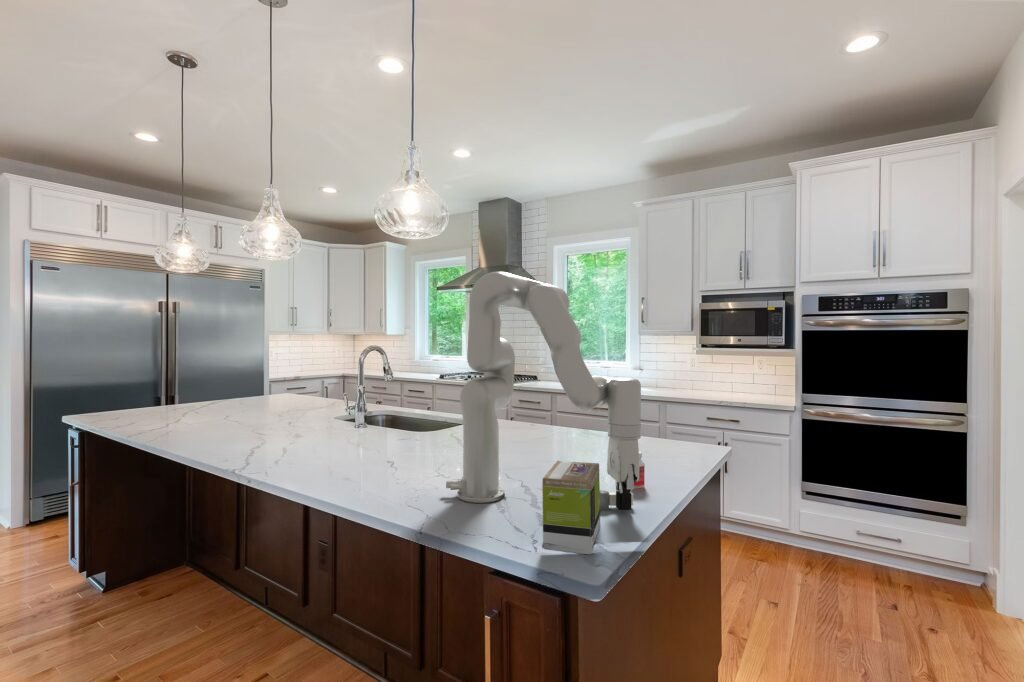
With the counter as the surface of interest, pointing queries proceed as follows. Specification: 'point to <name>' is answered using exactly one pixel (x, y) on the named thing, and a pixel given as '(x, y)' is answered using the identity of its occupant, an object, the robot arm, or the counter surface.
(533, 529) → the counter surface
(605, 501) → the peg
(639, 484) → the pill bottle
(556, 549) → the tea box
